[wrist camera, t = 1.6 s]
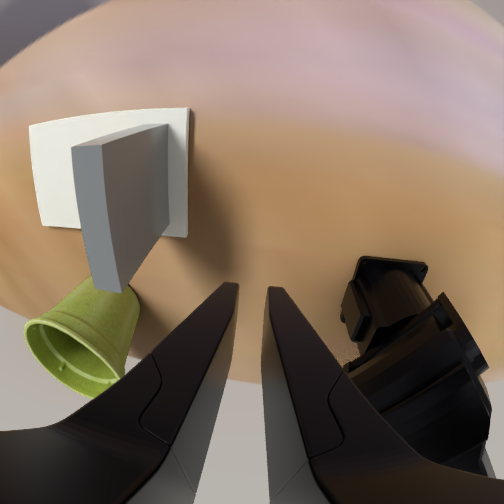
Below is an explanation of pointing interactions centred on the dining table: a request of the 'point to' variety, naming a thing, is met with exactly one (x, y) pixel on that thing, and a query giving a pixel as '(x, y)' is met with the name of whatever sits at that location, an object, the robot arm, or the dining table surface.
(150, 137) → the slate tile
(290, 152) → the dining table surface
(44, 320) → the plant pot
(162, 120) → the white rectangular board
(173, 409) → the robot arm
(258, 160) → the dining table surface
